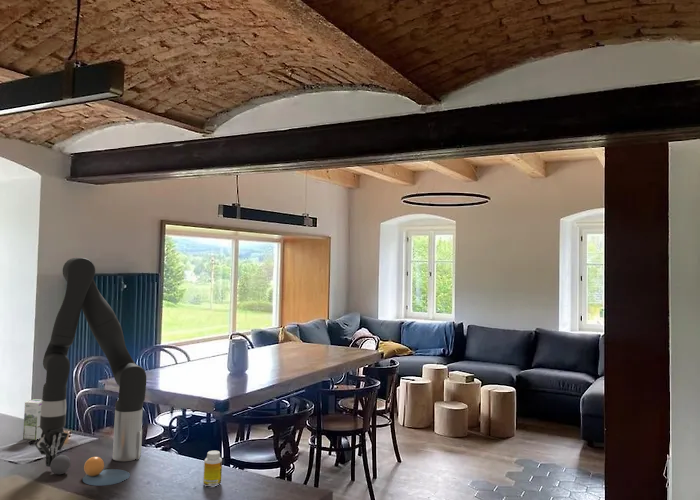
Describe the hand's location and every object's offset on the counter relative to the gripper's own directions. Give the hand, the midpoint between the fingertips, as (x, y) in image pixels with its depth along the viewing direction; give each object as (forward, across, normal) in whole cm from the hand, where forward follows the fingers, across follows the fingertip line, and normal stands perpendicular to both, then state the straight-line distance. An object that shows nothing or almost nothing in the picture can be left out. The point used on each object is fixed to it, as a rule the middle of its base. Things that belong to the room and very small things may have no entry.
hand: (50, 465), depth 187 cm
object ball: (-2, 0, -16) cm, 16 cm away
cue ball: (-2, -2, -5) cm, 6 cm away
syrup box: (+2, +28, +30) cm, 41 cm away
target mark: (+2, 0, -21) cm, 21 cm away
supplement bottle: (+2, +4, -56) cm, 56 cm away
